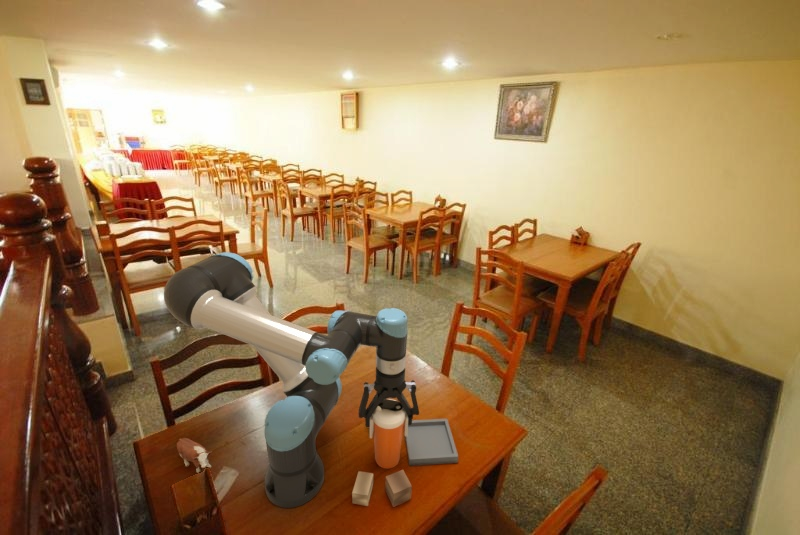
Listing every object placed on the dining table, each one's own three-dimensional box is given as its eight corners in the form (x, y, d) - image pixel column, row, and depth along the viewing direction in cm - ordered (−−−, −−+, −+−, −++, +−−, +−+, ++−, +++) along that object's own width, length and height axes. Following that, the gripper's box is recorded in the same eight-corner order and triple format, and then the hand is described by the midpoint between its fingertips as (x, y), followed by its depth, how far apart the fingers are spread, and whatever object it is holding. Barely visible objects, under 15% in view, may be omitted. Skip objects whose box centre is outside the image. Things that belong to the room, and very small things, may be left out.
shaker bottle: (399, 475, 96) (402, 419, 89) (368, 468, 98) (368, 412, 91) (405, 448, 105) (408, 395, 97) (376, 442, 106) (377, 389, 99)
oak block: (352, 503, 89) (352, 492, 87) (358, 481, 94) (358, 471, 93) (367, 506, 88) (367, 495, 87) (373, 484, 94) (373, 473, 92)
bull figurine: (204, 485, 91) (199, 463, 88) (176, 460, 98) (171, 438, 95) (220, 472, 95) (215, 450, 92) (192, 449, 101) (187, 427, 98)
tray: (409, 465, 99) (409, 459, 98) (403, 426, 112) (403, 420, 111) (457, 462, 101) (458, 456, 100) (446, 424, 114) (447, 418, 113)
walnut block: (393, 507, 88) (393, 493, 86) (385, 490, 92) (385, 476, 91) (410, 499, 90) (411, 485, 88) (402, 482, 94) (403, 469, 93)
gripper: (347, 378, 85) (348, 446, 93) (435, 374, 87) (428, 442, 96) (348, 358, 92) (349, 424, 100) (429, 356, 94) (424, 420, 102)
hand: (388, 433), depth 98 cm, fingers closed on shaker bottle, 9 cm apart
